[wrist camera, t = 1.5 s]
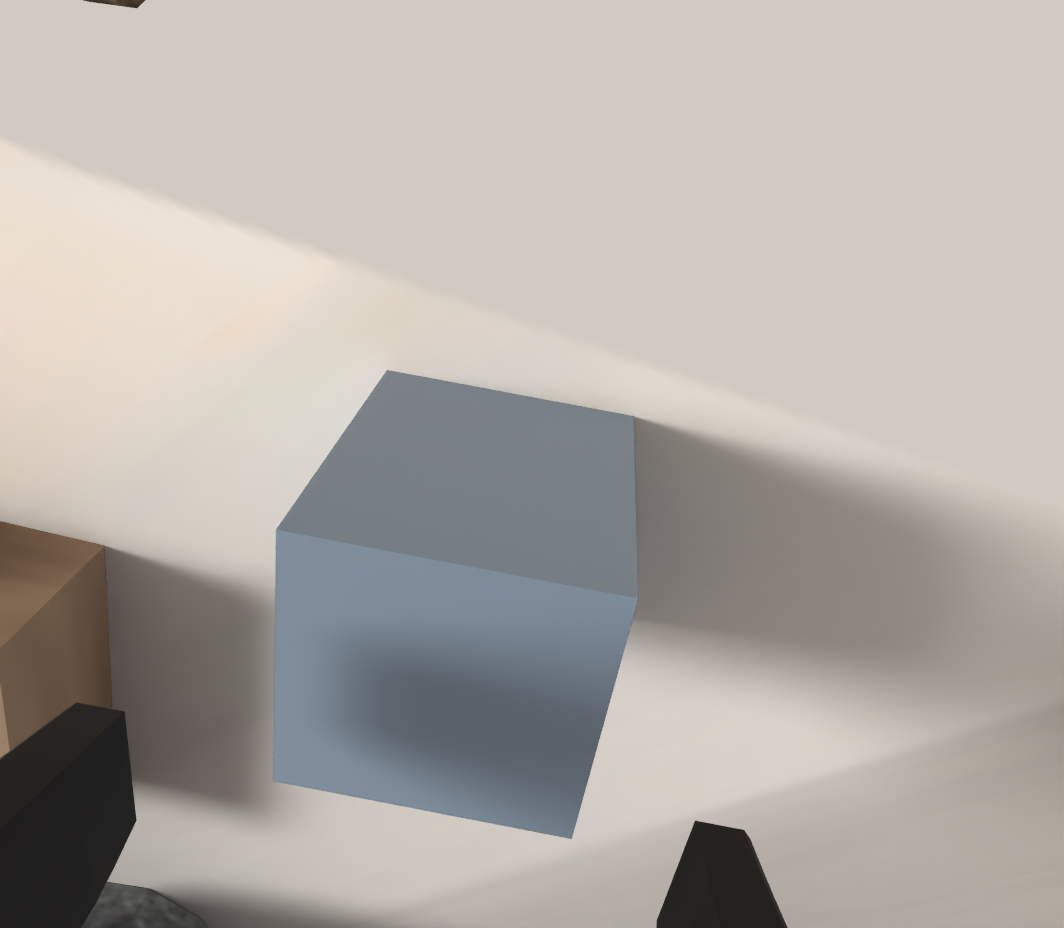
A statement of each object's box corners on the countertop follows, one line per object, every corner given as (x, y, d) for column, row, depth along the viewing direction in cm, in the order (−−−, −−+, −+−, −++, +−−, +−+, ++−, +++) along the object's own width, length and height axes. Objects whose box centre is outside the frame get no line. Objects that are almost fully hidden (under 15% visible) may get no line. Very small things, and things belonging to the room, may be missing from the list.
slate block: (633, 415, 16) (638, 598, 11) (586, 611, 19) (571, 839, 13) (388, 369, 16) (276, 529, 11) (371, 570, 19) (273, 780, 14)
